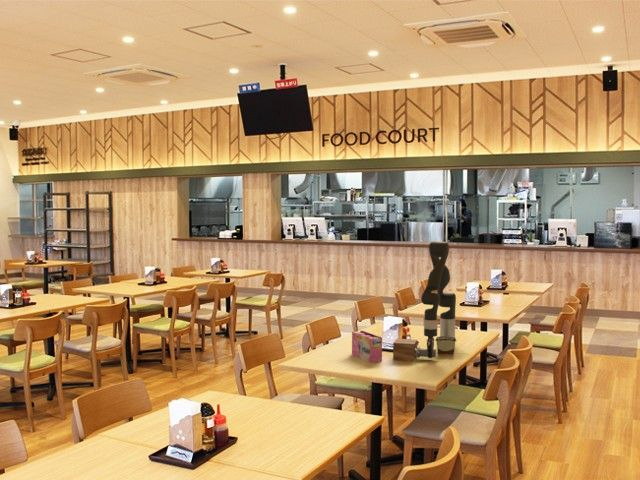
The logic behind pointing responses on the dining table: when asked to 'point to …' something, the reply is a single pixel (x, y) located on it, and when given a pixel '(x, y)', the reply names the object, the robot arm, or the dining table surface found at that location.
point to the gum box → (367, 346)
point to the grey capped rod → (424, 352)
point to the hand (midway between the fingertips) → (430, 357)
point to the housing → (404, 349)
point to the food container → (445, 345)
